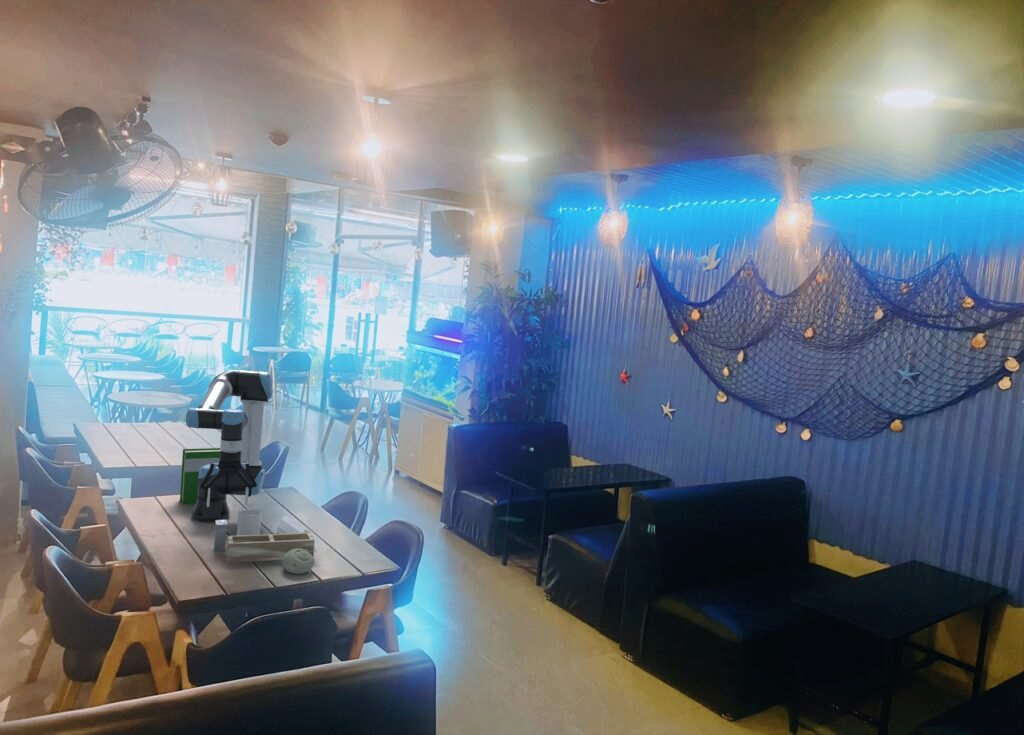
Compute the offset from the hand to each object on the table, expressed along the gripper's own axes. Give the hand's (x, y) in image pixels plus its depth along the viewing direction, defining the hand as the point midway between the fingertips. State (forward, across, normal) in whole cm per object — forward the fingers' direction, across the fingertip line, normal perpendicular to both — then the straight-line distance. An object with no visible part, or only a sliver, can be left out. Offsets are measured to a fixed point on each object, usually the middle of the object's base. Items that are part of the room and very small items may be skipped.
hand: (227, 505), depth 276 cm
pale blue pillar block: (+17, -2, +1) cm, 18 cm away
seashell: (+18, +23, -25) cm, 38 cm away
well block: (+17, +16, -10) cm, 25 cm away
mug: (+18, +10, +13) cm, 24 cm away
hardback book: (+18, -5, +68) cm, 70 cm away
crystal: (+18, +28, +9) cm, 34 cm away
